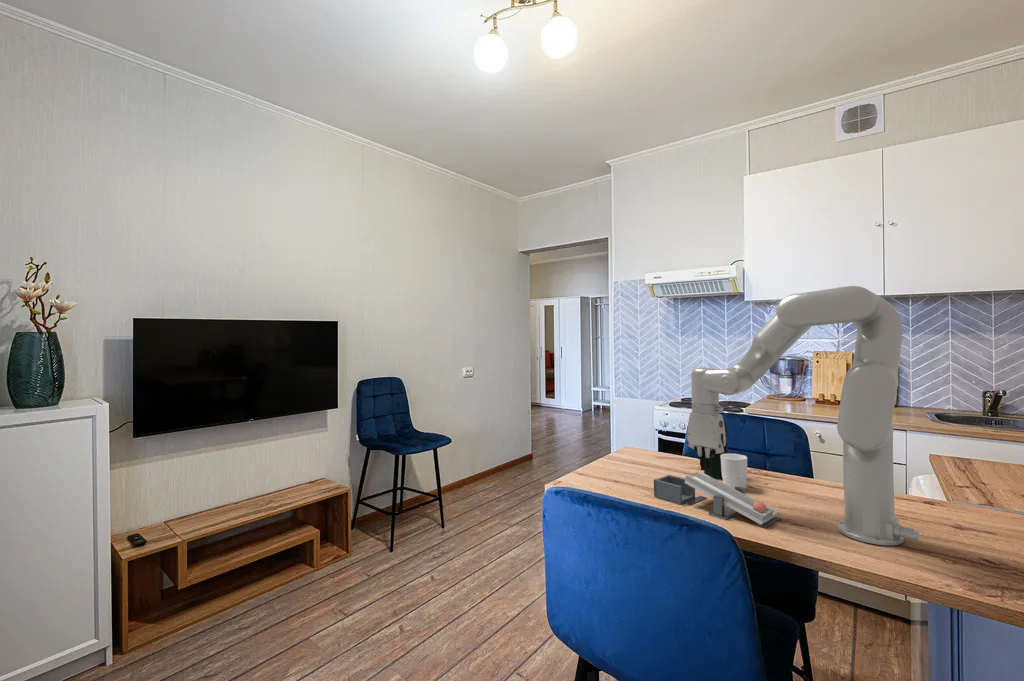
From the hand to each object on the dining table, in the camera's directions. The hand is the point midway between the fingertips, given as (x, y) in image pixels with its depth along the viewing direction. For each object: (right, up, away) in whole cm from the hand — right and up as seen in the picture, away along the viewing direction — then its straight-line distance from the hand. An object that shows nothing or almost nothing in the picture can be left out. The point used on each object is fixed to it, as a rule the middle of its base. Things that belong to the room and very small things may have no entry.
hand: (706, 469), depth 134 cm
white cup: (+14, -9, +11) cm, 20 cm away
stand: (+3, -9, -9) cm, 13 cm away
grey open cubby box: (-9, -9, +2) cm, 13 cm away
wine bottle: (+13, -9, +24) cm, 28 cm away
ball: (+6, -5, -17) cm, 19 cm away
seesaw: (+3, -5, -9) cm, 11 cm away
